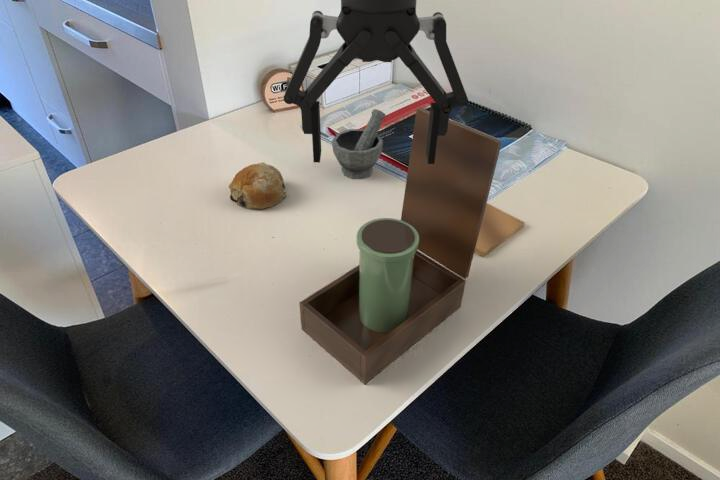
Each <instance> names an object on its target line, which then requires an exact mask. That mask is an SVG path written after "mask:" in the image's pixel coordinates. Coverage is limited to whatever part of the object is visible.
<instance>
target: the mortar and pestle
mask: <svg viewBox="0 0 720 480" xmlns="http://www.w3.org/2000/svg"><path fill="white" fill-rule="evenodd" d="M386 117H387V114H386V113H384V112H383V111H381V110H380V109H377V108H374V109H372V111H371V115H370V118H369V119H368V121H367V124H366V126H365V128H359V129H358V128H350V129H346V130H343V131H339V132H337V133H336V134H335V136H334V137H333V138H332V140H331V147H332V152H333V154H334V156H335V158H336V160H337V162H338V163H339V165H340V167H341V172H342V174H343V176H344V177H346V178H349V179H351V180H364V179H366V178H368V177H371V176H372V173H373V172H374V169H373V168H374V166H375V165H376V163H377V162H378V160H379V158H380V157H381V155H382V152H383V148H384V140H383V138H381V136H380V135H379V132H380V131H379V130H380V129H381V125H382V123H383V120H385V119H386Z"/></svg>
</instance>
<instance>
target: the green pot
mask: <svg viewBox="0 0 720 480" xmlns="http://www.w3.org/2000/svg"><path fill="white" fill-rule="evenodd" d="M356 246H357V248H358V250H359V264H358V265H359V318H360V320H361V322H362V323H363V325H364V326H366V327H367V328H368V329H370V330H373V331H375V332H380V333H389V332H391V331H393V330H394V329H395V328H397V327H398V326H399V325H400V324H402V323H403V322H404V321H406V320H407V319H408V314H409V304H410V294H411V284H412V275H413V265H414V255H415V252H416V251H418V250H417V249H418V246H419V234H418V232H417V231H416V229H415V228H414V227H413V226H411V225H410V224H408V223H406V222H404V221H402V220H401V219H398V218H392V217H380V218H374V219H371V220H369V221H367V222H365V223H363V224H362V225H361V226H360V227H359V229H358V230H357V233H356Z"/></svg>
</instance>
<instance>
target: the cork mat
mask: <svg viewBox="0 0 720 480" xmlns="http://www.w3.org/2000/svg"><path fill="white" fill-rule="evenodd" d="M524 227H525V221H523V220H521V219H519V218H517V217H515V216H513V215H511V214H509V213H507V212H505V211H503V210H501V209H499V208H497V207H495V206H493V205H492V204H489V203H487V204H486V207H485V211H484V215H483V219H482V223H481V227H480V231H479V235H478V239H477V243H476V247H475V251H474V254H476V255H479V256H480V257H481V258H484V257H485V256H487V255H488V254H489V253H491V252H492V251H494V250H495V249H496V248H498V246H500V245H501V244H503V243H504V242H505V241H506V240H508V239H509V238H511V237H512V236H513V235H514V234H516V233H517V232H519V231H520V230H522V229H523V228H524Z"/></svg>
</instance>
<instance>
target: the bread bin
mask: <svg viewBox="0 0 720 480" xmlns="http://www.w3.org/2000/svg"><path fill="white" fill-rule="evenodd" d="M466 282H467V280H466V279H464V278H462V277H461V276H459V275H458V274H456V273H454V272H453V271H451V270H449V269H448V268H446V267H445V266H443V265H441V264H440V263H438V262H437V261H435V260H433V259H432V258H430V257H429V256H427V255H425V254H424V253H422V252H420V251H419V250H417V251H416V252H415V255H414V265H413V275H412V284H411V294H410V304H409V314H408V319H407V320H406V321H404V322H403V323H402V324H400V325H399V326H398V327H397V328H395V329H394V330H393V331H391V332H389V333H380V332H375V331H373V330H370V329H368V328H367V327H366V326H364V325H363V323H362V322H361V320H360V318H359V264H358V265H357V266H355V267H353V268H352V269H350V270H349V271H347V272H346V273H344V274H342V275H341V276H339V277H338V278H336V279H334V280H333V281H331V282H329V283H328V284H326V285H325V286H323V287H322V288H320V289H318V290H316V291H315V292H314V293H312V294H310V295H309V296H307V297H306V298H304V299H302V300H300V301H299V315H300V316H299V317H300V327H301V330H302V331H303V332H304V333H305V334H306V335H307V336H309V337H310V338H311V340H313V341H314V342H315V343H316V344H318V345H319V346H320V348H322V349H323V350H324V351H325V352H327V353H328V354H329V355H330V356H331V357H333V358H334V359H335V360H336V361H337V362H338V363H340V365H342V366H343V367H344V369H346V370H348V371H349V372H350V373H351V374H352V375H353V376H354V377H355V378H357V379H358V380H359V381H360V382H361V383H362V384H363V385H367V384H368V383H369V382H371V380H373V379H374V378H375V377H377V376H378V375H379V374H380V373H381V372H383V371H384V370H385V369H387V367H388V366H391V364H392V363H394V362H395V361H396V360H397V359H399V358H400V357H401V356H402V355H404V354H405V353H407V351H408V350H409V349H412V347H413V346H415V345H416V344H417V343H419V342H420V341H421V340H422V339H423V338H425V336H427V335H428V334H430V333H431V332H433V330H434V329H436V328H437V327H438V326H439V325H441V324H442V323H443V322H444V321H445V320H447V319H448V318H449V317H450V316H452V315H454V313H455V312H456V311H458V310H459V309H460V308H461V307H462V302H463V298H464V291H465V288H466V287H465V286H466Z"/></svg>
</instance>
